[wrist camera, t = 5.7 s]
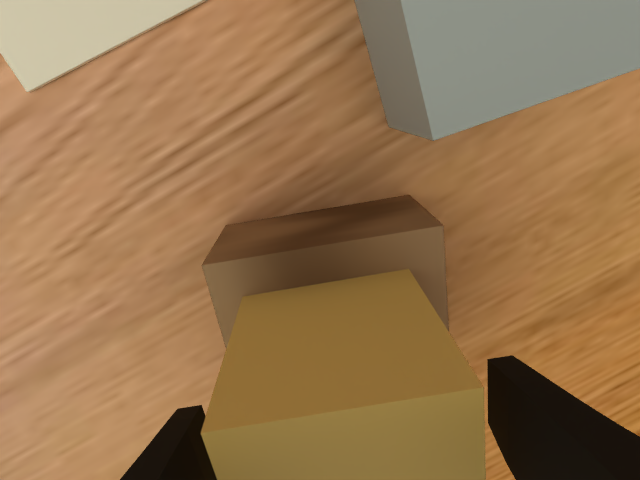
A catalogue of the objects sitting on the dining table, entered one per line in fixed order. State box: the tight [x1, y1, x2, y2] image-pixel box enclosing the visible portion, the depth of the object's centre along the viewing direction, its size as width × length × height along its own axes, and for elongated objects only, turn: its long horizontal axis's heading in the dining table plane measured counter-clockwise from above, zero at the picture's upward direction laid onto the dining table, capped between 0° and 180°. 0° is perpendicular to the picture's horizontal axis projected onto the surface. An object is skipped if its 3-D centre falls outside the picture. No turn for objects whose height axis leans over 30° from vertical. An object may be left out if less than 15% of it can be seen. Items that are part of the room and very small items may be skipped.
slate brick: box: [355, 0, 640, 141], centre depth 10 cm, size 5×5×5 cm
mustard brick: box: [201, 269, 486, 480], centre depth 10 cm, size 5×5×5 cm
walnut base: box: [202, 195, 449, 349], centre depth 14 cm, size 7×7×4 cm
